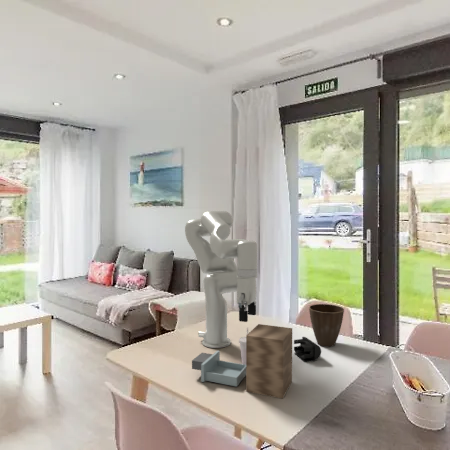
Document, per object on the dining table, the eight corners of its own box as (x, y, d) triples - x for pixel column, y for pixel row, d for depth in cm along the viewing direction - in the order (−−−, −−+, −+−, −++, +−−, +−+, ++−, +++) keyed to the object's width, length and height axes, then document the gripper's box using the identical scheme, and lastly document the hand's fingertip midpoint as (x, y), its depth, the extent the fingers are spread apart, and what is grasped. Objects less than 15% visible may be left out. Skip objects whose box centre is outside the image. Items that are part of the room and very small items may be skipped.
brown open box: (246, 391, 123) (246, 335, 122) (258, 375, 135) (258, 324, 134) (282, 398, 118) (283, 340, 118) (292, 381, 130) (292, 328, 130)
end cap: (321, 361, 148) (321, 344, 148) (305, 363, 146) (305, 345, 146) (308, 351, 157) (308, 335, 157) (293, 353, 155) (293, 337, 155)
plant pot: (304, 338, 173) (304, 304, 172) (335, 337, 174) (336, 303, 174) (315, 350, 158) (315, 313, 157) (349, 349, 160) (349, 312, 159)
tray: (188, 379, 131) (188, 362, 131) (205, 364, 144) (205, 348, 143) (235, 388, 124) (235, 370, 124) (248, 371, 137) (248, 355, 136)
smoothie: (257, 362, 147) (257, 326, 146) (252, 368, 141) (253, 331, 140) (241, 359, 149) (241, 325, 148) (236, 366, 143) (236, 329, 142)
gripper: (245, 269, 152) (246, 311, 153) (229, 276, 136) (230, 323, 137) (263, 270, 149) (263, 313, 150) (249, 277, 134) (249, 325, 134)
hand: (247, 318), depth 143 cm, fingers open, 9 cm apart
